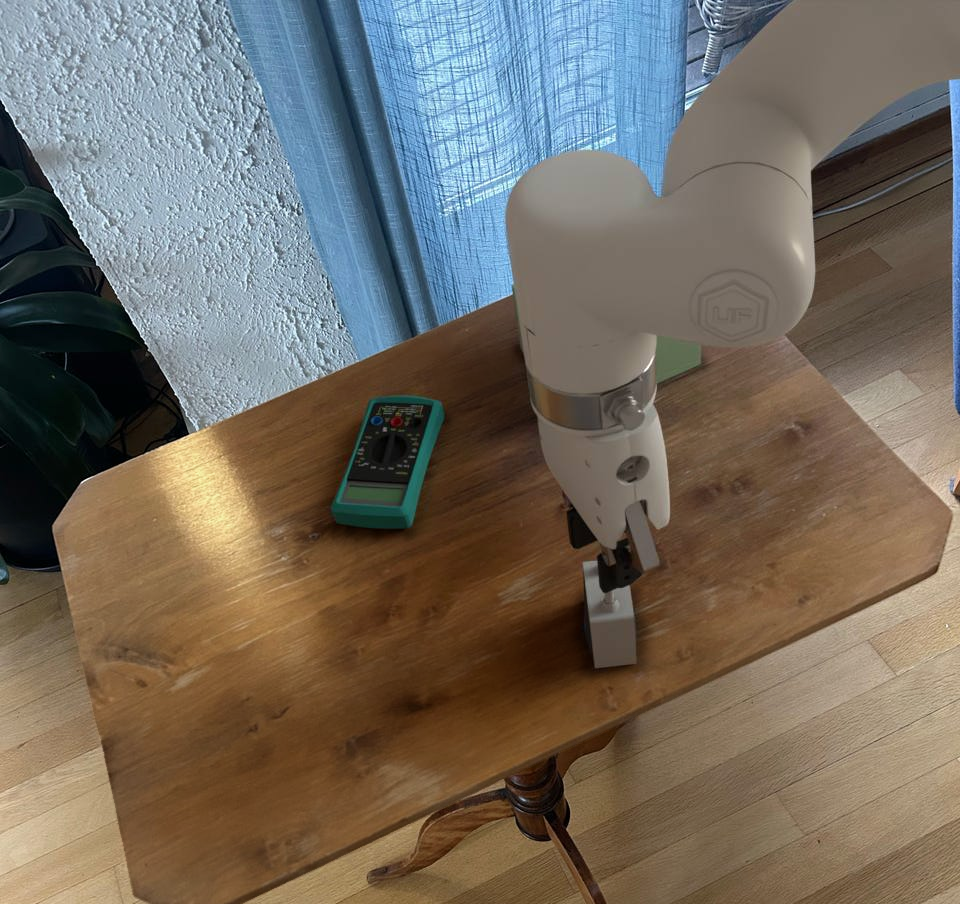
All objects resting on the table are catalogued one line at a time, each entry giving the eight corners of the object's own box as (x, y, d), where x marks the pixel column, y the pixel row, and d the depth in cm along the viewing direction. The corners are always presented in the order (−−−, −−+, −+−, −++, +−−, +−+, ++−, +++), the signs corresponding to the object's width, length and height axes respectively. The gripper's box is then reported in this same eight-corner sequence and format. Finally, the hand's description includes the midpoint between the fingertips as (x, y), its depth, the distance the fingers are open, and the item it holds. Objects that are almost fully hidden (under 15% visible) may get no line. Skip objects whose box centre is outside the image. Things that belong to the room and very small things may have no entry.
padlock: (642, 663, 81) (638, 546, 68) (589, 669, 81) (576, 554, 69) (631, 594, 85) (626, 472, 72) (581, 600, 85) (567, 480, 73)
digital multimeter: (448, 413, 99) (442, 391, 97) (411, 534, 92) (405, 513, 89) (376, 410, 101) (369, 388, 98) (335, 529, 93) (326, 508, 91)
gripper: (724, 436, 56) (710, 621, 71) (582, 271, 65) (597, 467, 80) (601, 491, 55) (614, 667, 70) (475, 317, 64) (511, 506, 79)
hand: (605, 559), depth 75 cm, fingers closed on padlock, 3 cm apart
